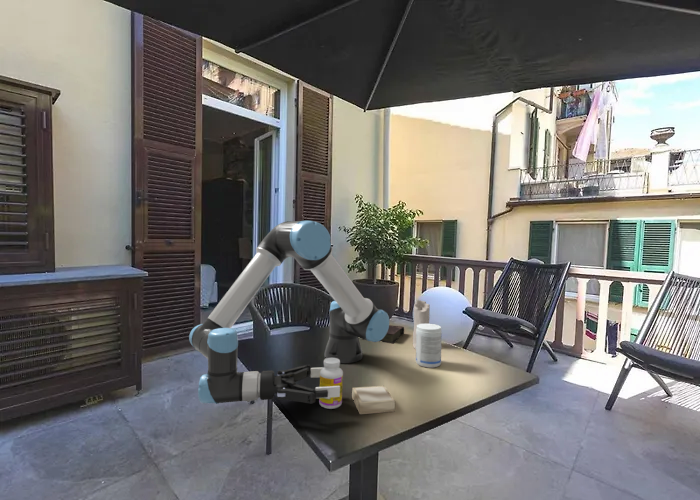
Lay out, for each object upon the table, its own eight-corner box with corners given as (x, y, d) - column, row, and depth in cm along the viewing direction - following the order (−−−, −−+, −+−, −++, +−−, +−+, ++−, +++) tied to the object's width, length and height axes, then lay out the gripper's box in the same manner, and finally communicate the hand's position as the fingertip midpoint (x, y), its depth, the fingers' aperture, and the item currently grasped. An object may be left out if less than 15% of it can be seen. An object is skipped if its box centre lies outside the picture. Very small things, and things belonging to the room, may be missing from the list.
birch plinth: (352, 397, 105) (352, 387, 105) (383, 395, 107) (384, 385, 107) (359, 414, 96) (360, 403, 95) (394, 411, 98) (394, 400, 97)
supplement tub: (446, 365, 134) (447, 327, 133) (428, 370, 128) (429, 330, 128) (427, 357, 142) (428, 322, 141) (410, 362, 136) (411, 324, 136)
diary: (358, 329, 186) (358, 319, 185) (404, 335, 175) (404, 325, 175) (343, 337, 169) (343, 327, 168) (392, 345, 158) (393, 334, 158)
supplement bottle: (333, 412, 96) (334, 366, 96) (314, 405, 100) (315, 361, 99) (346, 402, 102) (347, 359, 101) (328, 396, 105) (329, 354, 105)
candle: (414, 351, 149) (415, 304, 148) (412, 341, 163) (413, 299, 162) (431, 352, 148) (433, 305, 148) (428, 342, 162) (429, 299, 161)
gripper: (261, 380, 109) (329, 376, 113) (256, 422, 84) (343, 415, 89) (261, 356, 108) (329, 353, 113) (257, 392, 84) (343, 386, 88)
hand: (335, 380), depth 101 cm, fingers open, 13 cm apart
